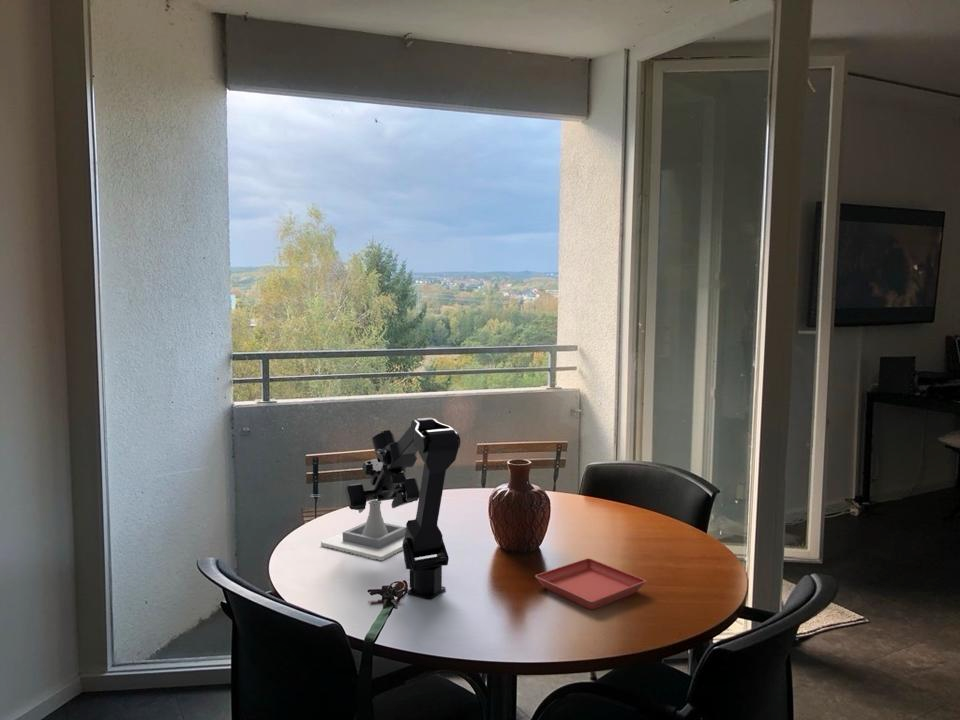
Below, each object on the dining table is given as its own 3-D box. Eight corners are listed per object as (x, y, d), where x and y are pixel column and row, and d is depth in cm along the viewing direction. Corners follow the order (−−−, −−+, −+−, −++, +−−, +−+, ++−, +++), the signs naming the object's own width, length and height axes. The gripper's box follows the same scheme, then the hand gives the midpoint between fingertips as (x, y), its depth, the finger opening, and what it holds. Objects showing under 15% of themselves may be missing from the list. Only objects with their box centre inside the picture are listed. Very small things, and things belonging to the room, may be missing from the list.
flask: (373, 544, 188) (373, 507, 187) (355, 538, 193) (355, 501, 192) (394, 537, 194) (394, 501, 193) (376, 531, 198) (376, 495, 198)
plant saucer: (533, 588, 165) (533, 574, 165) (588, 569, 176) (588, 556, 176) (591, 617, 151) (591, 601, 151) (647, 594, 162) (647, 580, 162)
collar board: (426, 537, 197) (426, 525, 197) (381, 560, 180) (381, 548, 180) (369, 524, 207) (369, 513, 207) (320, 545, 190) (320, 534, 190)
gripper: (416, 447, 190) (401, 478, 200) (346, 454, 181) (335, 486, 192) (427, 483, 183) (411, 514, 194) (356, 492, 175) (344, 524, 186)
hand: (376, 508), depth 192 cm, fingers open, 9 cm apart
